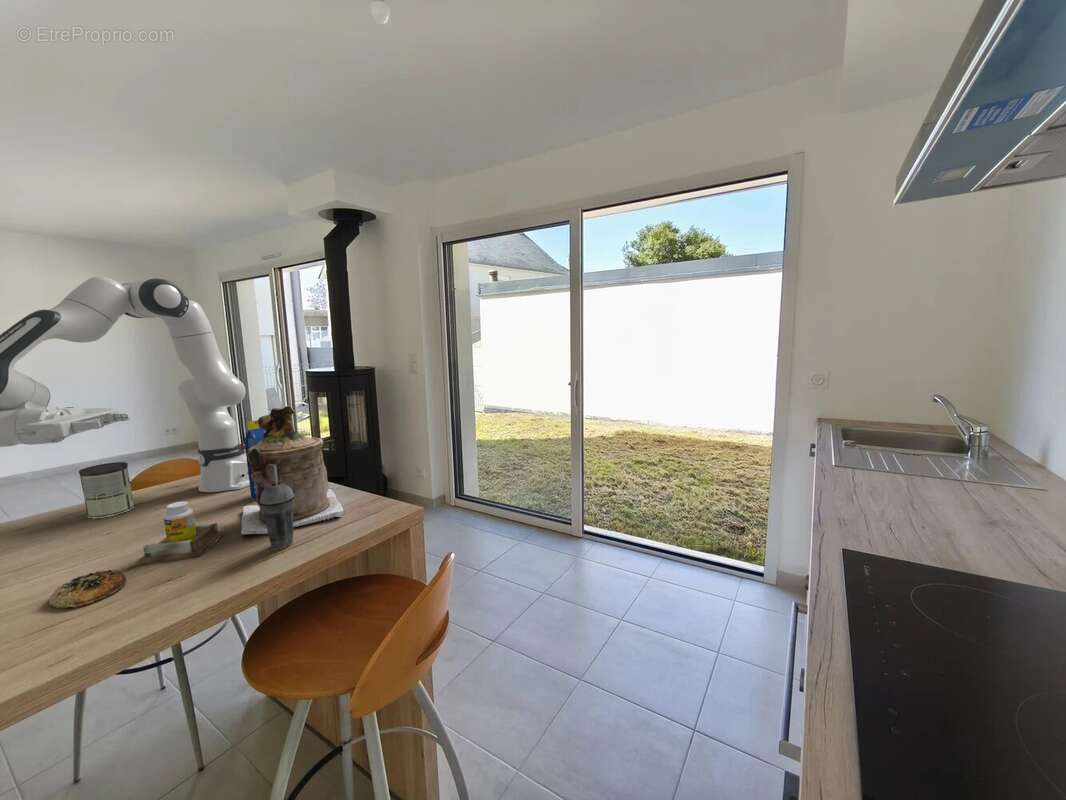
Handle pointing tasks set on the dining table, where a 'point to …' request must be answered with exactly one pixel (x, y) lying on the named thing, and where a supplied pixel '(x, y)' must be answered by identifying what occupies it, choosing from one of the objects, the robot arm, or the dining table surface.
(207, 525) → the clip cradle
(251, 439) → the blue food package
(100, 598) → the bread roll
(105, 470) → the coffee can
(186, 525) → the supplement bottle
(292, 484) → the cookie jar
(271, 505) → the beverage cup
